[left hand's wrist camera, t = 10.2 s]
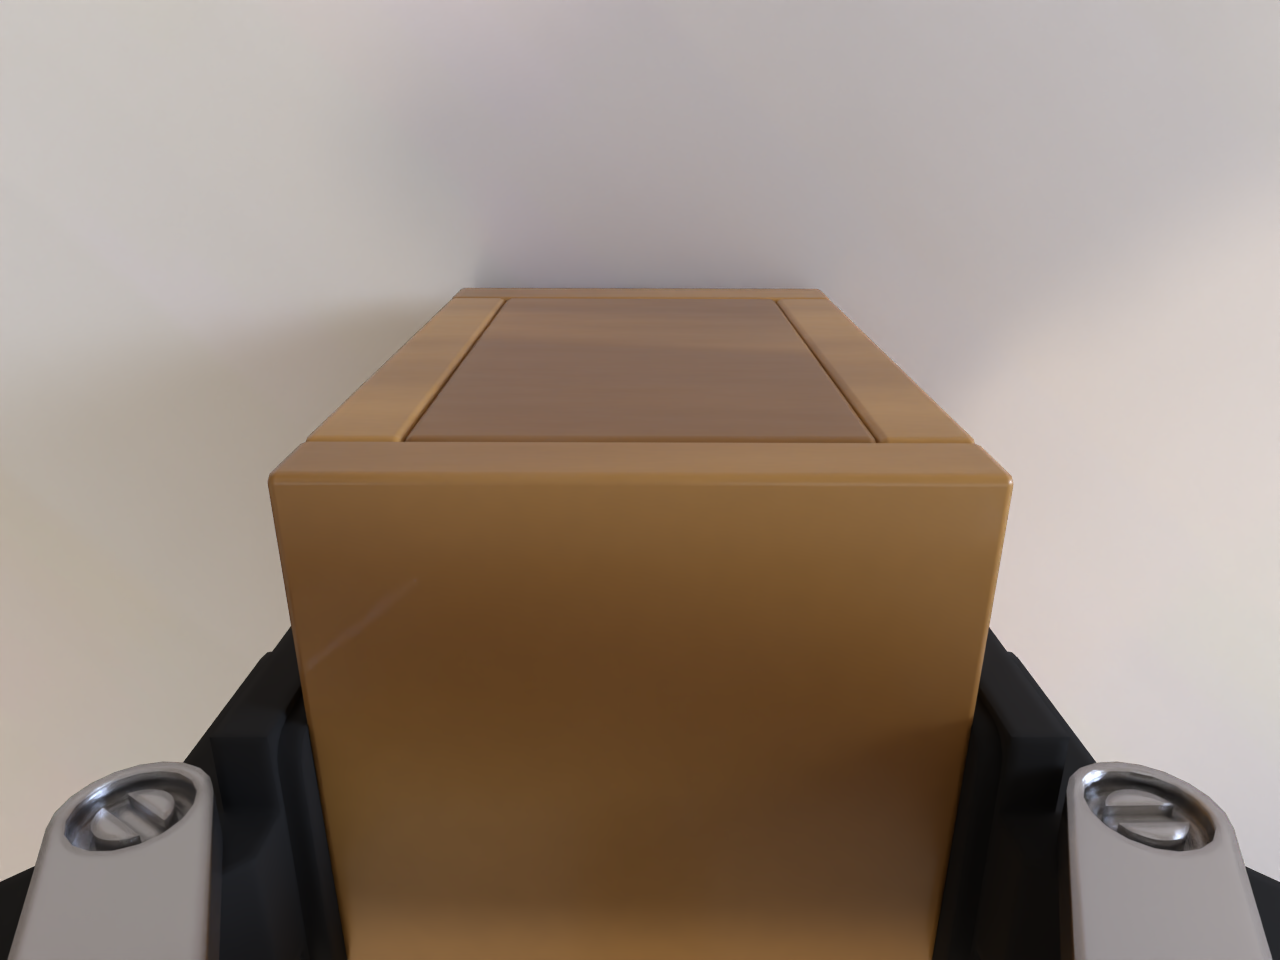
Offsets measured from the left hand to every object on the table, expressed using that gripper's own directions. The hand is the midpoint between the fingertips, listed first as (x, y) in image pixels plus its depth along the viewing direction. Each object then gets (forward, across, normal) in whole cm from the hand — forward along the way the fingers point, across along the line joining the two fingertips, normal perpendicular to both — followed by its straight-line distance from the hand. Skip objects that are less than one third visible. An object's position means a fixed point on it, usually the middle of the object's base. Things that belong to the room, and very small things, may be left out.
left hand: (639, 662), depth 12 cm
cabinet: (+5, 0, -6) cm, 8 cm away
